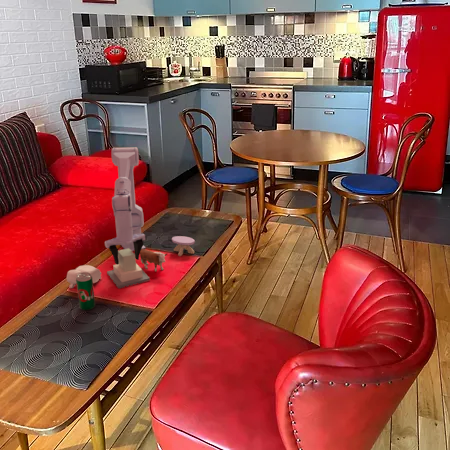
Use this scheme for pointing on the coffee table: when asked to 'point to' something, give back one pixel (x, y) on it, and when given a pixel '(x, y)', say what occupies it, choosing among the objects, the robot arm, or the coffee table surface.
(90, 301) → the soda can
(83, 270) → the white lumpy shape
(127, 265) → the sage brick
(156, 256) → the bull figurine
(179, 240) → the toy table
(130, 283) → the tower base
